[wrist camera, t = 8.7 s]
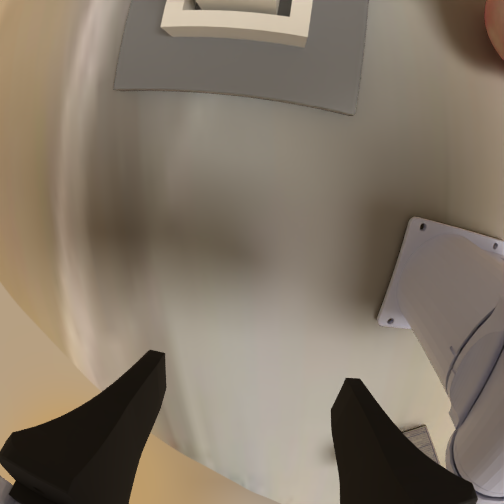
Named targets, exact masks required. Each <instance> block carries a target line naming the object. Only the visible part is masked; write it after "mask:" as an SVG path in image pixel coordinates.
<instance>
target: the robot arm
mask: <svg viewBox="0 0 504 504" xmlns="http://www.w3.org/2000/svg"><path fill="white" fill-rule="evenodd" d="M423 223H424V228H423V229H420V225H421V224H423ZM494 243H495V245H494ZM493 245H494V247H493ZM390 318H392V320H391V321H388V320H389V319H390ZM377 322H378V324H379V325H380V326H385V327H395V328H406V329H412V330H413V332H414V334H415V335H416V337H417V339H418V341H419V342H420V344H421V346H422V348H423V350H424V351H425V353H426V355H427V357H428V359H429V360H430V362H431V364H432V366H433V368H434V370H435V372H436V373H437V375H438V377H439V379H440V381H441V383H442V385H443V387H444V389H445V391H446V393H447V395H448V397H449V399H450V401H451V409H450V411H449V415H450V417H451V419H452V421H453V423H454V426H455V428H456V430H455V431H454V433H453V434H452V436H451V437H450V440H449V442H448V445H447V449H446V459H445V461H446V468H447V469H445V468H444V467H442V466H440V465H439V464H438V463H436V462H435V461H433V460H432V459H431V458H429V457H428V456H427V455H426V454H424V453H423V452H422V451H421V450H420V449H418V448H417V447H416V446H415V445H414V444H413V443H412V442H411V441H410V440H409V439H408V438H407V437H406V436H405V435H404V434H403V433H402V432H401V431H400V430H399V429H398V427H397V426H396V425H395V424H394V423H393V422H392V420H391V419H390V418H389V417H388V416H387V414H386V413H385V412H384V410H383V409H382V408H381V407H380V405H379V404H378V403H377V401H376V400H375V399H374V397H373V396H372V394H371V393H370V392H369V390H368V389H367V388H366V386H365V385H364V384H363V382H362V381H361V380H360V379H356V378H346V379H345V381H344V384H343V386H342V388H341V390H340V392H339V394H338V396H337V398H336V400H335V402H334V404H333V406H332V408H331V428H332V436H333V442H334V448H335V454H336V460H337V466H338V472H339V480H340V504H476V503H478V504H504V241H502V240H499V239H496V238H493V237H489V236H486V235H483V234H479V233H476V232H472V231H469V230H465V229H462V228H458V227H454V226H451V225H447V224H443V223H439V222H436V221H432V220H428V219H424V218H420V217H412V218H411V219H410V220H409V222H408V226H407V229H406V233H405V236H404V240H403V243H402V247H401V250H400V253H399V256H398V260H397V263H396V266H395V269H394V272H393V275H392V278H391V281H390V284H389V287H388V289H387V292H386V295H385V298H384V301H383V303H382V306H381V309H380V311H379V314H378V317H377ZM165 391H166V370H165V353H162V352H158V351H153V350H149V351H148V352H147V353H146V354H145V355H144V356H143V357H142V358H141V359H140V360H139V361H138V362H136V363H135V364H134V365H133V366H132V367H131V368H130V369H129V370H128V371H127V372H126V373H124V374H123V375H122V376H121V377H120V378H119V379H118V380H116V381H115V382H114V383H113V384H111V385H110V386H109V387H108V388H106V389H105V390H104V391H102V392H101V393H100V394H98V395H97V396H95V397H94V398H93V399H91V400H90V401H88V402H86V403H85V404H83V405H82V406H80V407H78V408H76V409H74V410H73V411H71V412H69V413H67V414H65V415H63V416H61V417H58V418H56V419H54V420H51V421H49V422H46V423H44V424H41V425H38V426H36V427H32V428H28V429H24V430H21V431H17V432H13V433H12V434H11V435H10V437H9V438H8V439H7V441H6V442H5V444H4V446H3V448H2V449H1V451H0V463H1V465H2V466H3V467H4V468H5V469H6V470H7V471H8V473H9V474H10V475H11V476H12V477H13V478H14V479H15V480H16V481H15V483H14V485H12V484H11V483H9V482H8V481H7V480H5V479H4V478H2V477H1V476H0V504H129V499H130V494H131V490H132V486H133V482H134V478H135V474H136V470H137V467H138V463H139V459H140V457H141V453H142V451H143V448H144V446H145V444H146V441H147V439H148V437H149V434H150V432H151V430H152V427H153V425H154V423H155V420H156V418H157V416H158V413H159V411H160V408H161V405H162V401H163V398H164V394H165Z"/></svg>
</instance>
